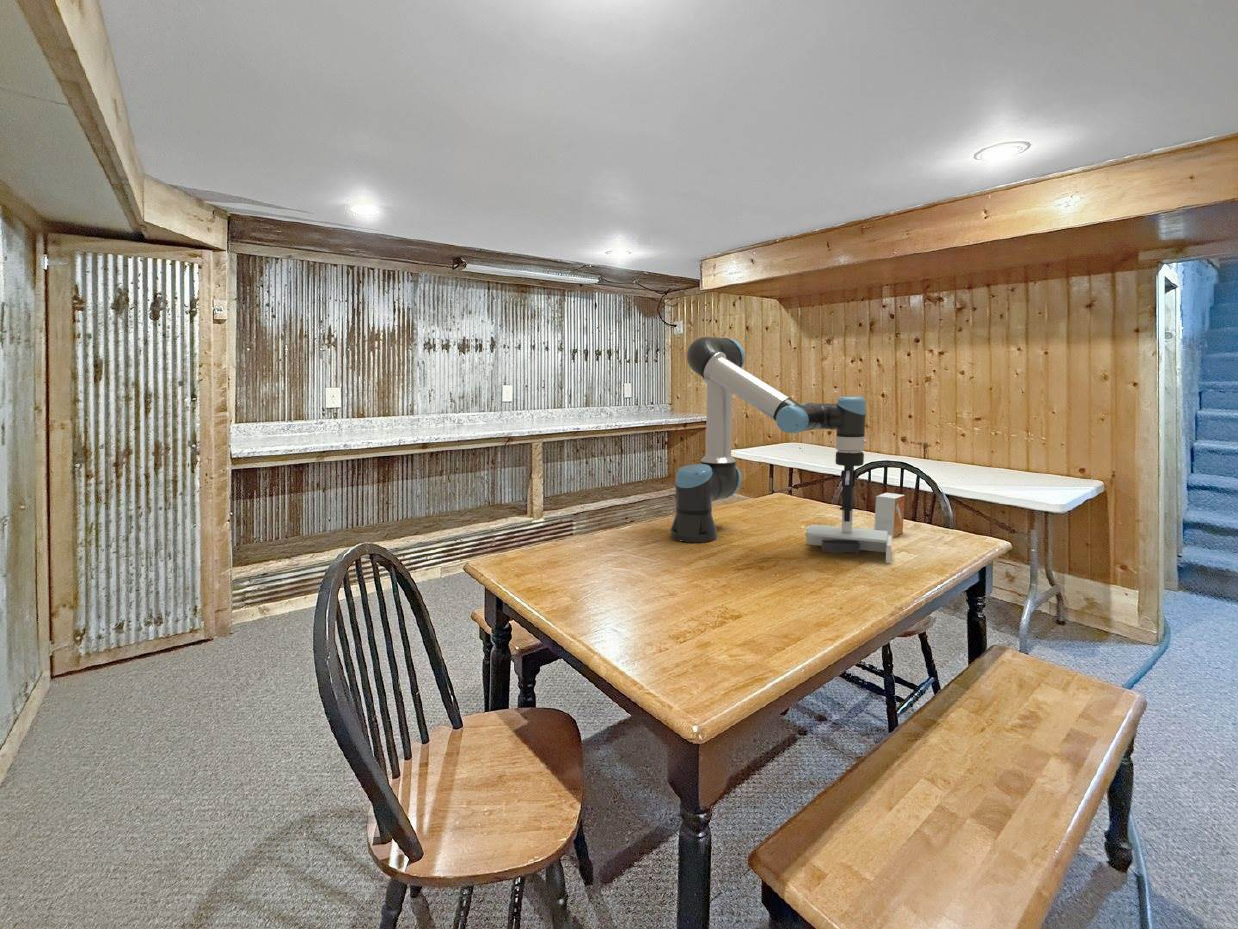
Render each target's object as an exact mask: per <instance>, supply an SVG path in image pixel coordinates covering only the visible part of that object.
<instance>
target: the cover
mask: <svg viewBox="0 0 1238 929" xmlns="http://www.w3.org/2000/svg"><path fill="white" fill-rule="evenodd" d="M807 528H808V529H807ZM807 528H806V531H805V536H806V535H810V536H820V537H831V538H841V539H852V540H862V541H873V542H884V543H887V535H888V531H881V530H874V529H868V528H856V527H852V533H850V532H842V526H835V525H834V526H832V525H823V524H822V525H821V524H809V526H808V527H807Z"/></svg>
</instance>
